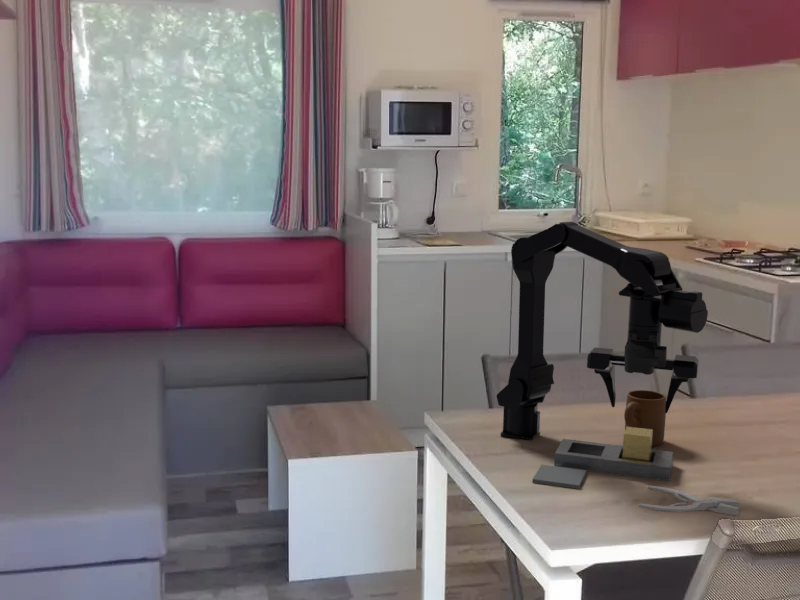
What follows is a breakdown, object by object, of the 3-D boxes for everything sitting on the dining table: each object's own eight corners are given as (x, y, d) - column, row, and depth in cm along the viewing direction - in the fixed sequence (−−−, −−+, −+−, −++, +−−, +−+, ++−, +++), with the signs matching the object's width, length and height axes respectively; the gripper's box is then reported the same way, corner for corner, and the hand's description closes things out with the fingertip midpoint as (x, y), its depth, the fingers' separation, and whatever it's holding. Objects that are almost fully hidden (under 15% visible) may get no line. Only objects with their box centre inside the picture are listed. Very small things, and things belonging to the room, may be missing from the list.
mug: (643, 455, 178) (646, 407, 177) (606, 446, 183) (609, 399, 182) (670, 440, 188) (673, 394, 186) (634, 432, 192) (637, 387, 191)
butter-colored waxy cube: (621, 471, 170) (623, 433, 169) (624, 463, 174) (626, 426, 173) (648, 474, 168) (650, 436, 167) (650, 466, 172) (652, 429, 171)
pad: (532, 482, 163) (532, 479, 163) (541, 467, 171) (541, 464, 171) (579, 488, 161) (579, 485, 161) (586, 473, 168) (586, 470, 168)
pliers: (648, 480, 162) (741, 494, 156) (648, 489, 162) (740, 503, 156) (638, 499, 153) (737, 515, 147) (638, 509, 153) (736, 525, 147)
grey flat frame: (554, 466, 172) (554, 453, 171) (562, 451, 180) (563, 438, 179) (668, 481, 165) (669, 467, 165) (672, 465, 173) (673, 451, 173)
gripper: (584, 327, 162) (580, 415, 165) (698, 336, 156) (692, 428, 159) (593, 316, 173) (589, 399, 175) (701, 324, 167) (694, 410, 169)
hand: (639, 409), depth 169 cm, fingers open, 9 cm apart
